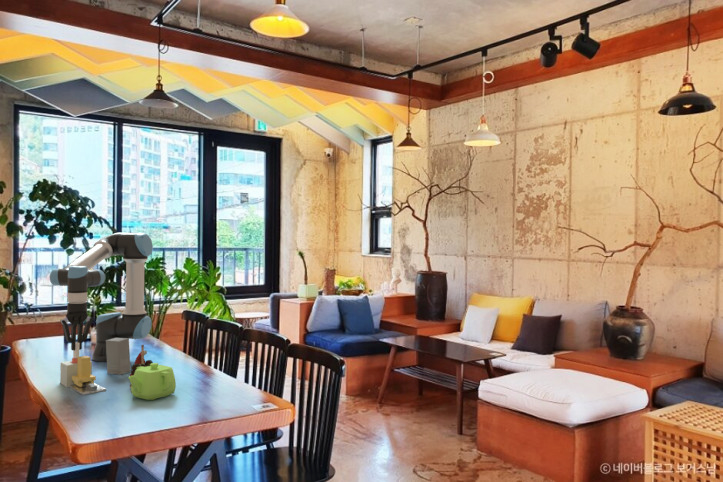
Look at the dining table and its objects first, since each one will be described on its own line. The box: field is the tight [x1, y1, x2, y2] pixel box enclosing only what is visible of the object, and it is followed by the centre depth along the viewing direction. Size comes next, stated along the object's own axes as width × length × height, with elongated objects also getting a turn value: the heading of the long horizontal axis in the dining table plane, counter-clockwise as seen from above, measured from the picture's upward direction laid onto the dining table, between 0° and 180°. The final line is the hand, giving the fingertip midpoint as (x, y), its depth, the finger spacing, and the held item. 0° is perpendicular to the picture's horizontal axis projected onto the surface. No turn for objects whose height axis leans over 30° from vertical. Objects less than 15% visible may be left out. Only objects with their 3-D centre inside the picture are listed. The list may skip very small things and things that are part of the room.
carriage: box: [72, 355, 97, 387], centre depth 229 cm, size 7×7×11 cm
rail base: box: [68, 382, 107, 396], centre depth 226 cm, size 9×15×3 cm, turn 47°
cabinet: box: [59, 360, 93, 388], centre depth 235 cm, size 10×8×9 cm
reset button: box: [71, 357, 78, 364], centre depth 235 cm, size 3×3×5 cm
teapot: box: [127, 362, 177, 401], centre depth 216 cm, size 18×20×13 cm
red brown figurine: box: [129, 344, 154, 389], centre depth 230 cm, size 11×9×18 cm
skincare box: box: [106, 338, 131, 376], centre depth 253 cm, size 8×7×16 cm
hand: (76, 357), depth 235 cm, fingers closed
